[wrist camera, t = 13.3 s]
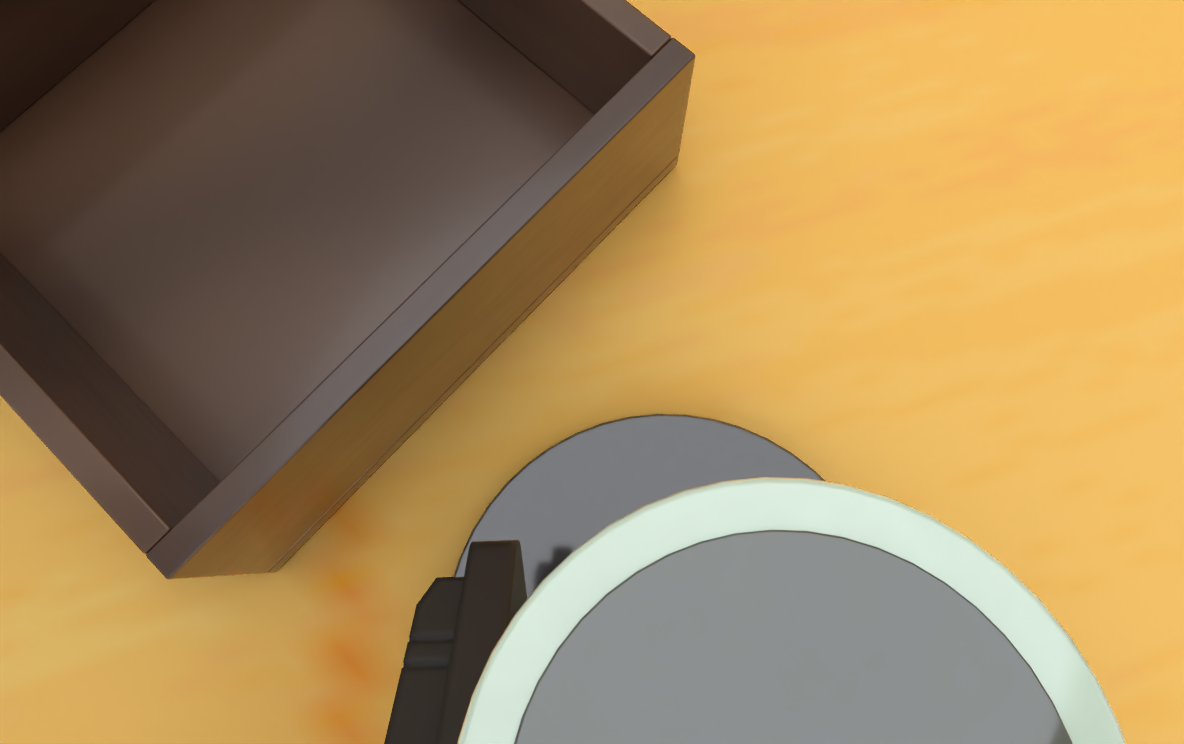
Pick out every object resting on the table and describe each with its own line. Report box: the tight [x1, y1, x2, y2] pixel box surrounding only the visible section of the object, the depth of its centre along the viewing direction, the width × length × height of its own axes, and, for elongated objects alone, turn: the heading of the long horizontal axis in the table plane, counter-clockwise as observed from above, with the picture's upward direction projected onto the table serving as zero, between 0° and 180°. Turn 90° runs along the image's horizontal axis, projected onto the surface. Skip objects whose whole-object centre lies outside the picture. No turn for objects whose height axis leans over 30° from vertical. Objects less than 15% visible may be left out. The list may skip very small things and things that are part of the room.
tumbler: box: [457, 477, 1126, 744], centre depth 11 cm, size 6×6×10 cm
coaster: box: [454, 414, 825, 599], centre depth 19 cm, size 11×11×1 cm
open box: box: [0, 0, 695, 579], centre depth 20 cm, size 15×15×5 cm
